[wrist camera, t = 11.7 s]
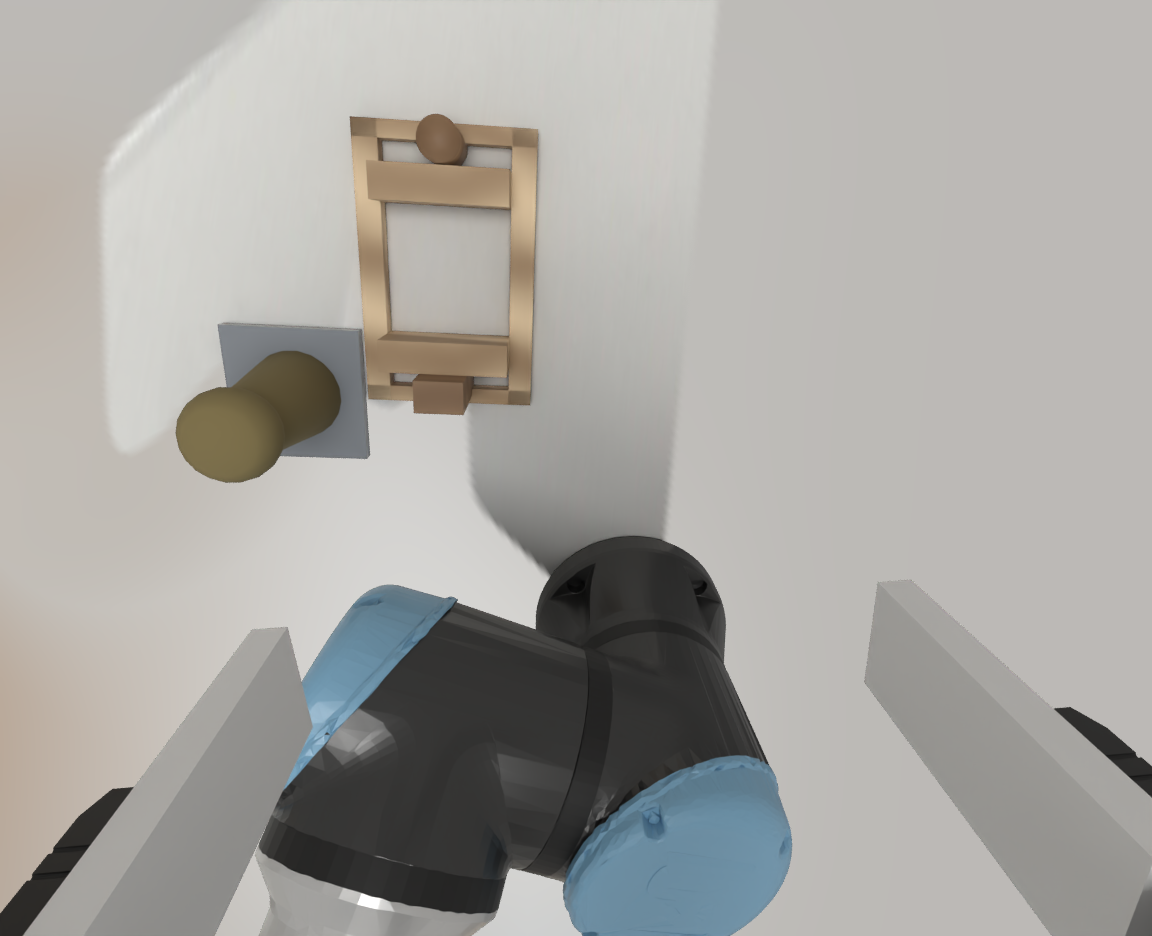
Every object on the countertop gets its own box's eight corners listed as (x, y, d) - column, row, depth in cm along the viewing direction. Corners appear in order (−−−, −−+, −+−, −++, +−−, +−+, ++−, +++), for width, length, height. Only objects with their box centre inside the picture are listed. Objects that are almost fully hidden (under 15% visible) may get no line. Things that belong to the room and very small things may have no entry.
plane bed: (530, 401, 44) (528, 425, 38) (373, 394, 43) (347, 418, 37) (537, 132, 38) (536, 114, 32) (355, 120, 37) (322, 99, 32)
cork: (307, 334, 41) (227, 366, 30) (358, 413, 43) (300, 468, 32) (231, 375, 41) (127, 420, 31) (285, 450, 43) (205, 517, 33)
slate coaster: (370, 454, 45) (366, 458, 44) (242, 450, 44) (236, 454, 43) (361, 329, 41) (358, 331, 41) (223, 323, 41) (217, 324, 40)
